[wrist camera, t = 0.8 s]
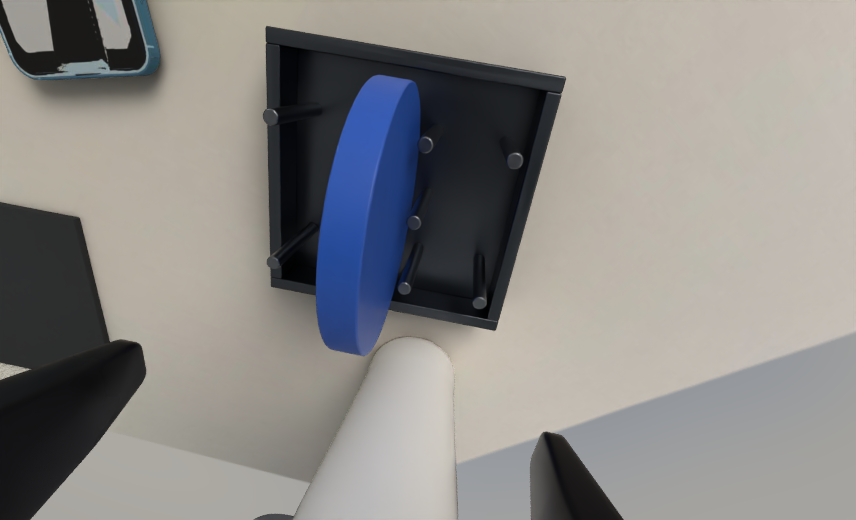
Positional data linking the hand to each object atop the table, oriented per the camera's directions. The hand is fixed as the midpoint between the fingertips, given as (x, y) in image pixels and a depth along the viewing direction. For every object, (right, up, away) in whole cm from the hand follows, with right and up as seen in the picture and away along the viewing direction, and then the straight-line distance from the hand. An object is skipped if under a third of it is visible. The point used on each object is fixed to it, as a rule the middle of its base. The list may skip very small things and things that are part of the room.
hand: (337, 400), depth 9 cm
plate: (+1, +7, +11) cm, 13 cm away
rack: (+1, +7, +12) cm, 14 cm away
